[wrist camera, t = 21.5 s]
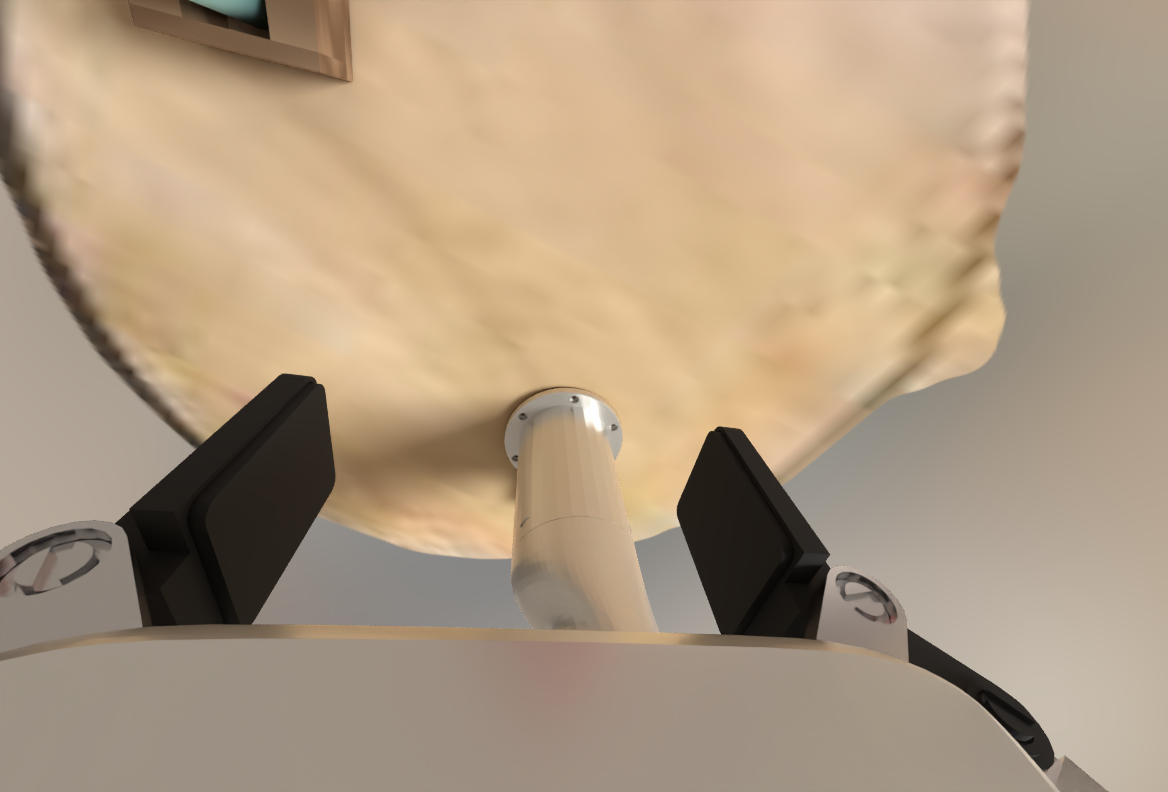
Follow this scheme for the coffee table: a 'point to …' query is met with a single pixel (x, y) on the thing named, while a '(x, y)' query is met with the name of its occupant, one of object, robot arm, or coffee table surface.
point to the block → (262, 31)
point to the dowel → (241, 10)
